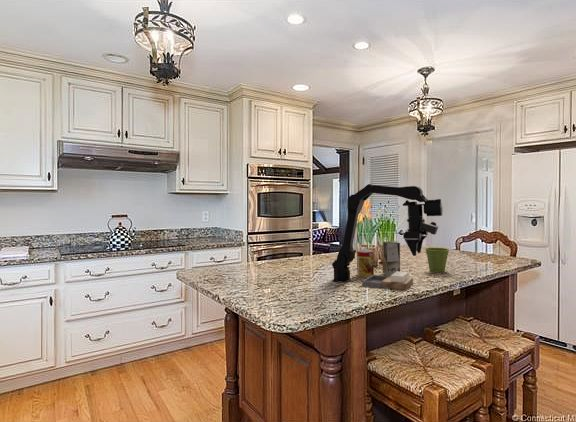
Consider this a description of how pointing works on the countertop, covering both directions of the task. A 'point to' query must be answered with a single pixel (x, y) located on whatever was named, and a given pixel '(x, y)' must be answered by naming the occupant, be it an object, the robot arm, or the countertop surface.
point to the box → (374, 281)
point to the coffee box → (391, 257)
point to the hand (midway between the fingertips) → (416, 254)
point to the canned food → (365, 263)
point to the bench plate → (397, 283)
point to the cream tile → (399, 276)
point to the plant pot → (437, 258)
